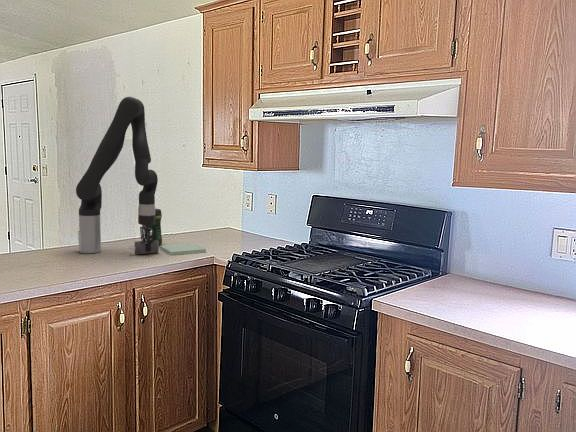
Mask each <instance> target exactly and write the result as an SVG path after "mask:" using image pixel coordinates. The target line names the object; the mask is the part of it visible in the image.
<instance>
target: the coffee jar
mask: <svg viewBox="0 0 576 432" xmlns="http://www.w3.org/2000/svg"><path fill="white" fill-rule="evenodd" d="M162 217H163V214H162V210H161V209H160V208H155V224H153V225H151V228H152V231H154V236H153V240H158V241H159V247H160V246H162V244H163V237H162V225H161V223H162ZM143 235H144V234H143ZM149 240H150V239H149Z"/></svg>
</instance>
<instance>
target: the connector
mask: <svg viewBox="0 0 576 432" xmlns="http://www.w3.org/2000/svg"><path fill="white" fill-rule="evenodd" d="M128 249H129V250H134V254H138V255H144V254H155V253H159V251H160V246H159V241H158V240H153V243H151V252H146V241H142V240H136V241H134V246H128Z"/></svg>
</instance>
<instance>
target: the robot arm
mask: <svg viewBox="0 0 576 432" xmlns="http://www.w3.org/2000/svg"><path fill="white" fill-rule="evenodd" d="M145 112H146V111H145V105H144V103H143V102H142V101H141V100H140V99H139V98H136V97H133V96H126V97H124V98H122V99H121V101H120V102H119V103H118V106H117V109H116V111H115V114H114V117H113V119H112V120H111V123H110V125H109V127H108V129H107V131H106V132H105V134H104V136H103V137H102V139H101V141H100V143H99V145H98V147H97V149H96V151H95V153H94V155H93V156H92V159H91V161H90V164H89V166H88V167H87V169H86V171H85V173H84V174H83V176H82V177H81V179H80V180H79V181H78V183H77V185H76V186H75V194H76V197H78V199H80V201H81V202H80V203H81V204H80V206H79V208H78V231H77V232H78V233H77V235H78V236H77V237H78V239H77V241H78V251H79V253H81V254H96V253H100V252H101V251H102V237H101V236H102V235H101V231H102V230H101V228H102V227H101V209H102V200H103V197H102V195H103V194H102V192H103V191H102V190H103V189H102V186H101V184H100V183H101V181H102V179H103V177H104V176H105V174H106V173H107V172H108V171H109V169H111V167H112V166H113V165H114V164H115V162H116V161H117V159H118V158H119V155H120V154H121V152H122V149H123V148H124V143H125V138H126V134H127V131H128V129H129V126H130V125H131V132H132V140H131V145H132V146H131V147H132V153H133V158H134V163H135V165H134V178H135V180H136V183H137V184H138V185H140V186H143V187H142V190H141V191H139V193H138V207H137V208H138V209H137V215H138V216H137V220H138V222H137V223H138V224H139V225H140V227H139V232H140V233H139V234H140V241H146V252H151V243H153V236H154V231H152V228H151V225H153V224H155V209H156V204H155V202H156V201H155V199H156V198H155V195H156V191H157V187H158V182H159V180H158V178H159V177H158V175H157V173H156V171H155V170H153V169H149V164H150V163H151V162H152V158H151V152H150V147H149V142H148V136H147V131H146V130H147V128H146V118H145V117H146V114H145ZM143 234H144V235H143ZM149 239H150V240H149Z"/></svg>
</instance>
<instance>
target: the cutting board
mask: <svg viewBox="0 0 576 432" xmlns="http://www.w3.org/2000/svg"><path fill="white" fill-rule="evenodd" d="M159 250H161V251H163V252H164V253H166V254H167V255H170V256H171V257H172V256H180V255H191V254H192V253H194V254H203V253H204V254H205V253H207V248H204V247H202V246H200V245H198V244H196V243H194V242H193V243H192V242H191V243H177V244H166V245H165V244H164V245H160V246H159Z"/></svg>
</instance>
